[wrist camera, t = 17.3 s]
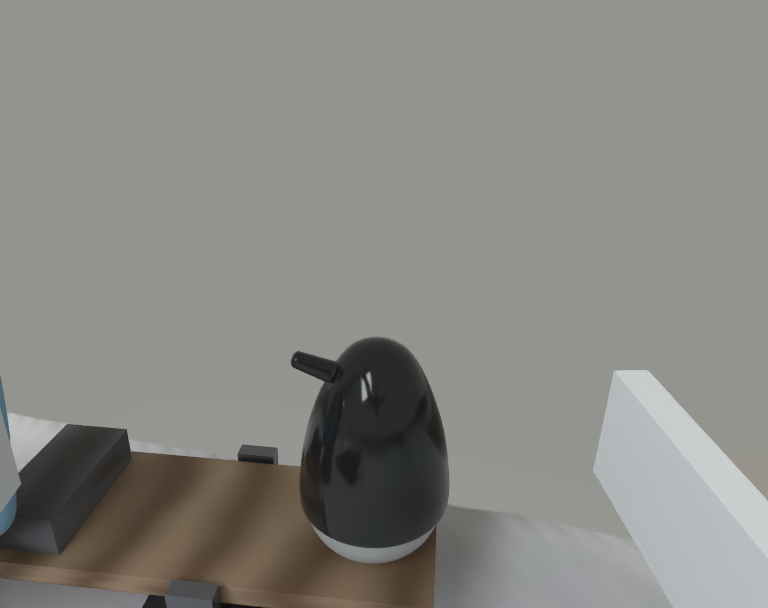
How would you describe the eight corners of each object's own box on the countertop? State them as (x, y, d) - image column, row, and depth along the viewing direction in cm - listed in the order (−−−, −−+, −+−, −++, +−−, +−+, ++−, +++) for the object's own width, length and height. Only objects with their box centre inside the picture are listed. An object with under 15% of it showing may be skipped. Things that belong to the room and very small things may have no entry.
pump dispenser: (304, 481, 47) (298, 306, 41) (436, 481, 48) (449, 307, 42) (290, 591, 38) (279, 385, 32) (453, 590, 38) (474, 386, 32)
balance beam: (-17, 575, 40) (-34, 524, 38) (84, 461, 51) (74, 417, 49) (431, 625, 38) (436, 573, 36) (436, 493, 49) (440, 448, 47)
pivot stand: (114, 672, 41) (94, 587, 37) (199, 512, 54) (190, 440, 51) (288, 694, 40) (283, 608, 36) (331, 525, 53) (330, 452, 50)
